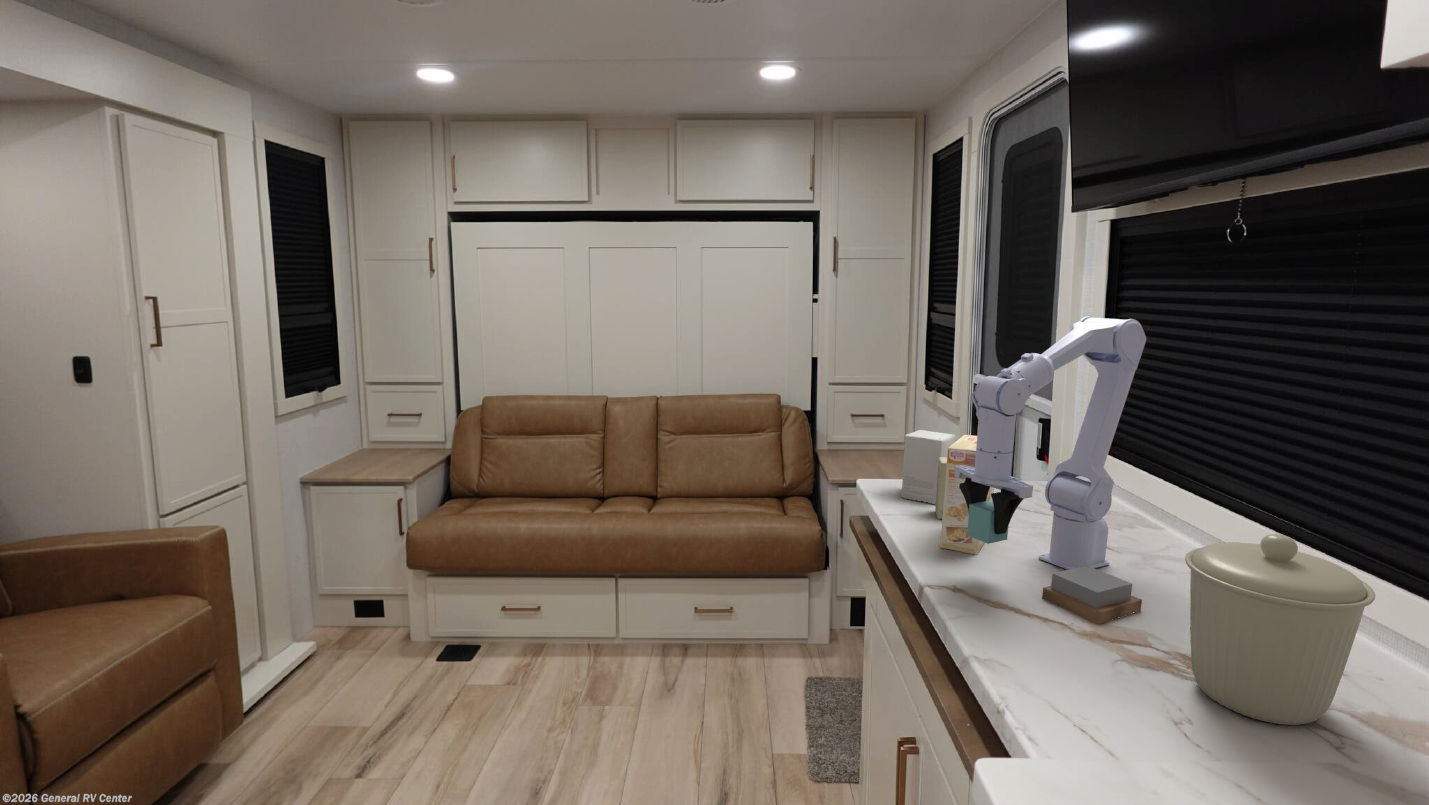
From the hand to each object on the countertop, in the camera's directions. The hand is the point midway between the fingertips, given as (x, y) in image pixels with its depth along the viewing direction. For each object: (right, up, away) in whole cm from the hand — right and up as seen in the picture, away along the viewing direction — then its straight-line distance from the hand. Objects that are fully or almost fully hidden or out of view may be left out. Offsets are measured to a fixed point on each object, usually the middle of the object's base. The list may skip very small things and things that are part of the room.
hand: (988, 528), depth 127 cm
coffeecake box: (+3, -6, +20) cm, 21 cm away
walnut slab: (+13, -11, -8) cm, 19 cm away
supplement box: (+3, -1, +48) cm, 49 cm away
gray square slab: (+13, -9, -8) cm, 18 cm away
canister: (+20, -15, -35) cm, 43 cm away
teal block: (0, -2, 0) cm, 2 cm away
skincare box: (+4, -3, +35) cm, 36 cm away
